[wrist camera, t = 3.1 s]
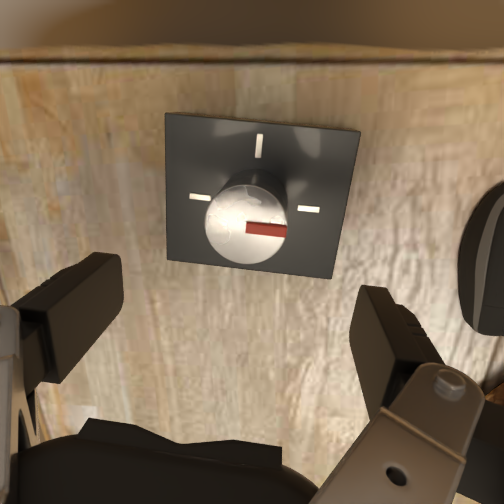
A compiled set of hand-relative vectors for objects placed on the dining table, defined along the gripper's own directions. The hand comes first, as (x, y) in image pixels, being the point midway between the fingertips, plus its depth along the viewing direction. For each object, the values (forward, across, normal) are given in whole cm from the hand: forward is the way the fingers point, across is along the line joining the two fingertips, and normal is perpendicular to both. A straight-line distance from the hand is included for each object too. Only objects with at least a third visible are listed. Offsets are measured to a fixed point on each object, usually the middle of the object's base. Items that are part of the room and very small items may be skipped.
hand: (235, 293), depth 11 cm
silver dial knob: (+12, 0, 0) cm, 12 cm away
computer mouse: (+15, -18, +3) cm, 24 cm away
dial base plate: (+15, 0, 0) cm, 15 cm away
